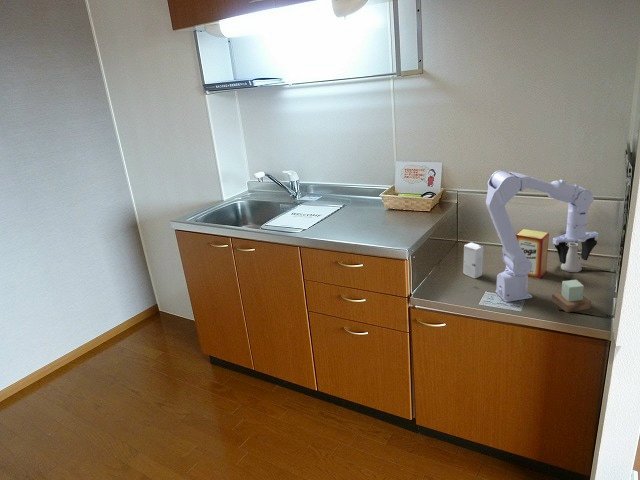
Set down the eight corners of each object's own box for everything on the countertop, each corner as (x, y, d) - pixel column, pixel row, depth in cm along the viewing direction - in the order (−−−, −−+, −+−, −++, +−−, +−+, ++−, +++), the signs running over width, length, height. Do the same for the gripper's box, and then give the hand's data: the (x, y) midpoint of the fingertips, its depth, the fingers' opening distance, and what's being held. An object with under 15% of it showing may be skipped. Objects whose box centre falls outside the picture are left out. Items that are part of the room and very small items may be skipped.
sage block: (568, 301, 147) (569, 287, 145) (561, 294, 151) (562, 281, 150) (582, 299, 147) (583, 285, 145) (575, 293, 151) (576, 279, 149)
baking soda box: (513, 272, 174) (515, 233, 168) (520, 266, 179) (522, 227, 173) (539, 278, 168) (542, 238, 162) (546, 271, 172) (549, 232, 166)
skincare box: (462, 273, 178) (462, 245, 174) (470, 270, 180) (470, 241, 176) (475, 279, 173) (475, 249, 169) (483, 275, 175) (483, 246, 171)
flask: (563, 263, 177) (565, 239, 173) (584, 266, 173) (586, 242, 169) (558, 270, 172) (560, 246, 168) (579, 274, 168) (582, 249, 164)
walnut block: (566, 313, 146) (567, 305, 145) (551, 301, 154) (552, 293, 152) (590, 309, 147) (591, 301, 146) (574, 298, 154) (575, 290, 153)
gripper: (562, 230, 146) (559, 268, 151) (606, 223, 147) (601, 262, 152) (550, 223, 153) (547, 260, 158) (592, 217, 154) (588, 254, 159)
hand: (573, 260), depth 155 cm, fingers open, 7 cm apart
